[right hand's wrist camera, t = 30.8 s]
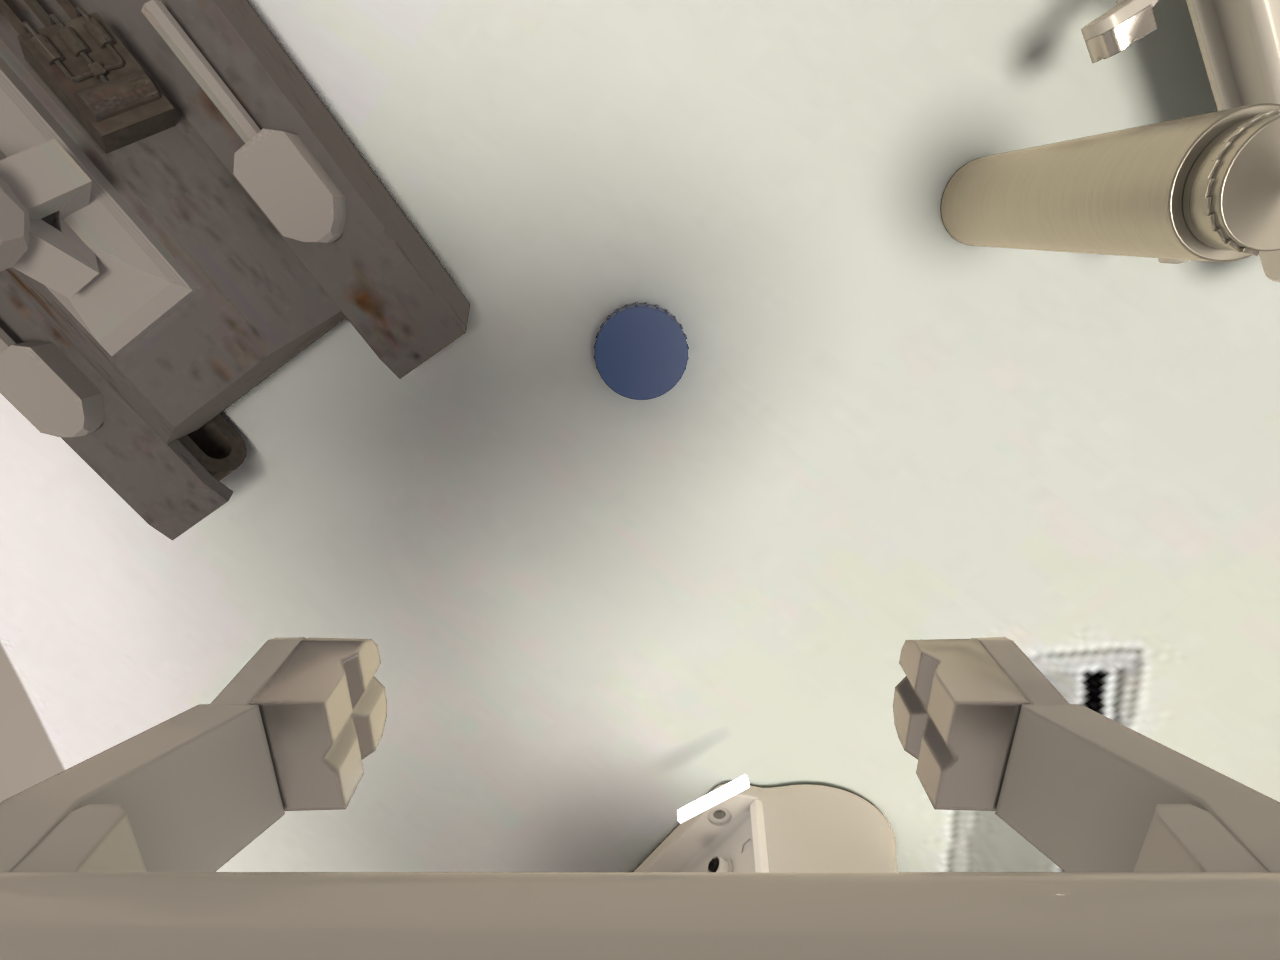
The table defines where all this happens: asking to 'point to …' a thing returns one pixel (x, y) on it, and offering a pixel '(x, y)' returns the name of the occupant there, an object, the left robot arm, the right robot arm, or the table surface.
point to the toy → (183, 238)
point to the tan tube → (1132, 191)
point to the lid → (641, 351)
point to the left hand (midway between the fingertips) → (1130, 151)
